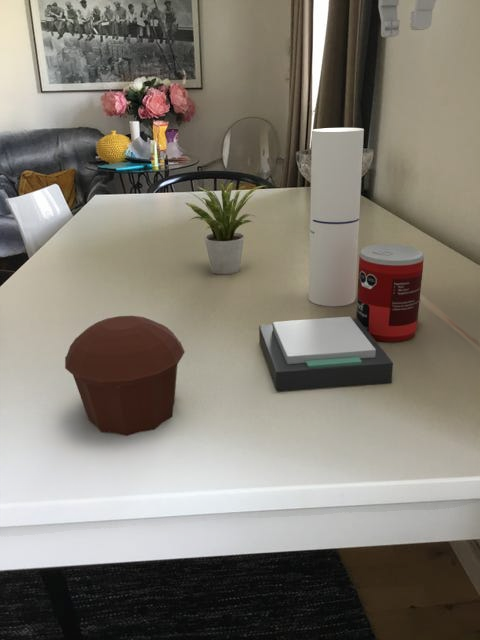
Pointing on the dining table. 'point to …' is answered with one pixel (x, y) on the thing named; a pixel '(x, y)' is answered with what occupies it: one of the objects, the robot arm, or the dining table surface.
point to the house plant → (223, 229)
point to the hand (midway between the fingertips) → (403, 33)
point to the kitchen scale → (322, 354)
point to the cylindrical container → (334, 214)
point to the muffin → (126, 373)
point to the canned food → (389, 291)
